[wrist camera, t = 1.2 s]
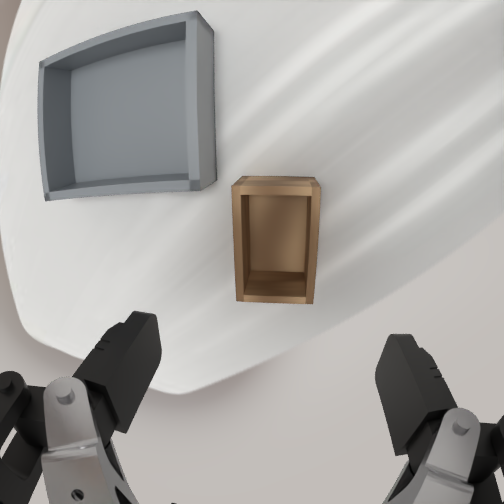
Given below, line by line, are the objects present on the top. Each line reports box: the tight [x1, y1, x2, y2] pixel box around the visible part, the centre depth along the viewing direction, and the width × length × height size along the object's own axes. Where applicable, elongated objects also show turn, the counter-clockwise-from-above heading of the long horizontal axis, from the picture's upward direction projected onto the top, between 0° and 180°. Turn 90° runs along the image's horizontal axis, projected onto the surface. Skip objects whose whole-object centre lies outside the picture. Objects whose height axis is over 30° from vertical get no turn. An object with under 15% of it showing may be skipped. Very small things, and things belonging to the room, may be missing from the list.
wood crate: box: [231, 176, 321, 304], centre depth 23 cm, size 6×9×5 cm, turn 1°
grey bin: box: [38, 11, 217, 201], centre depth 21 cm, size 16×14×5 cm
